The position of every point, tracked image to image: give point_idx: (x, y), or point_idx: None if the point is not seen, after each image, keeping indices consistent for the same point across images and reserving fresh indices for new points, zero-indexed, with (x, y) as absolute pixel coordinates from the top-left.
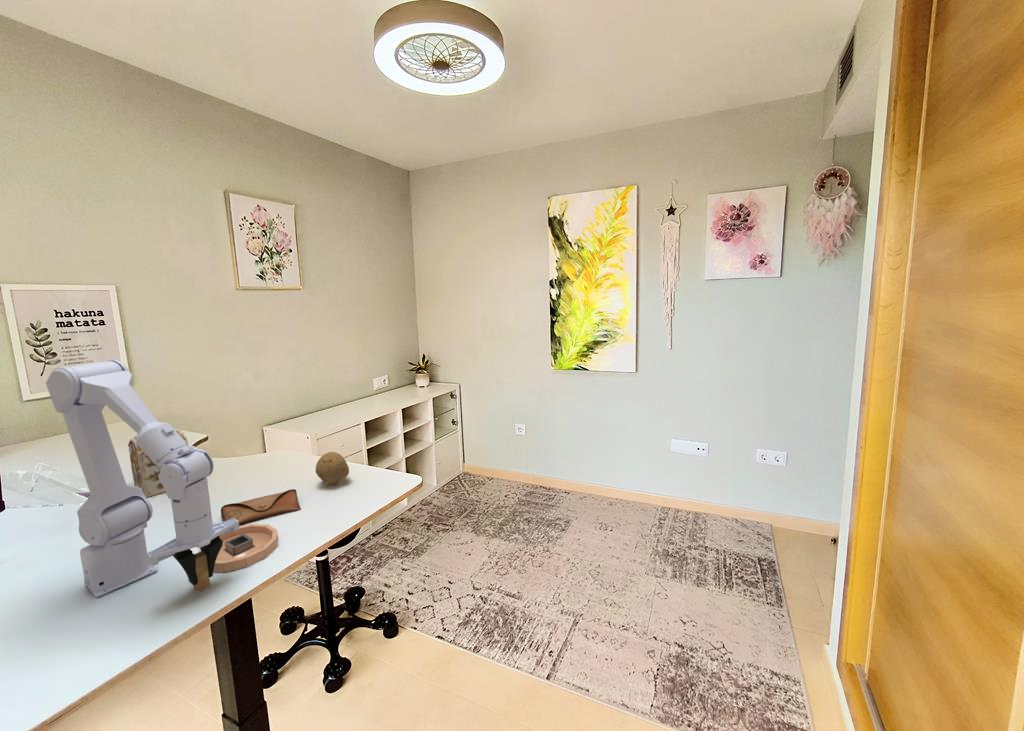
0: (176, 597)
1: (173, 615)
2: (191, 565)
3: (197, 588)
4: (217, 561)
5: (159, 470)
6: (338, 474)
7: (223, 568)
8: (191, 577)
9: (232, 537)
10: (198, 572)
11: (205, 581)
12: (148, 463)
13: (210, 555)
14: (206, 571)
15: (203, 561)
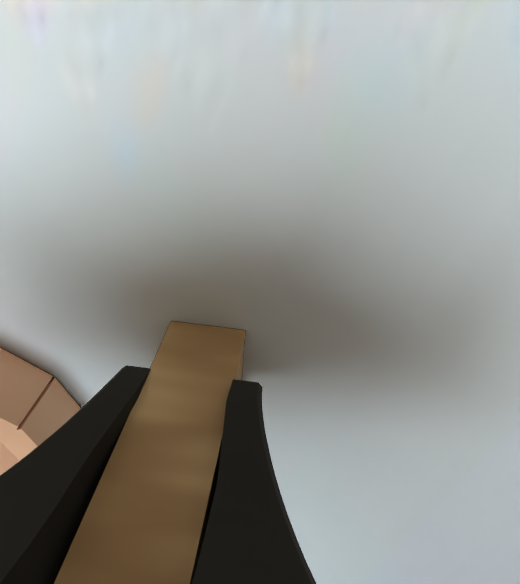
0: (343, 399)
1: (472, 250)
2: (248, 561)
3: (241, 357)
4: None
5: None
6: None
7: (42, 398)
8: (265, 441)
9: None
10: (198, 450)
11: (182, 362)
12: None
13: (15, 549)
14: (142, 420)
15: (116, 525)
